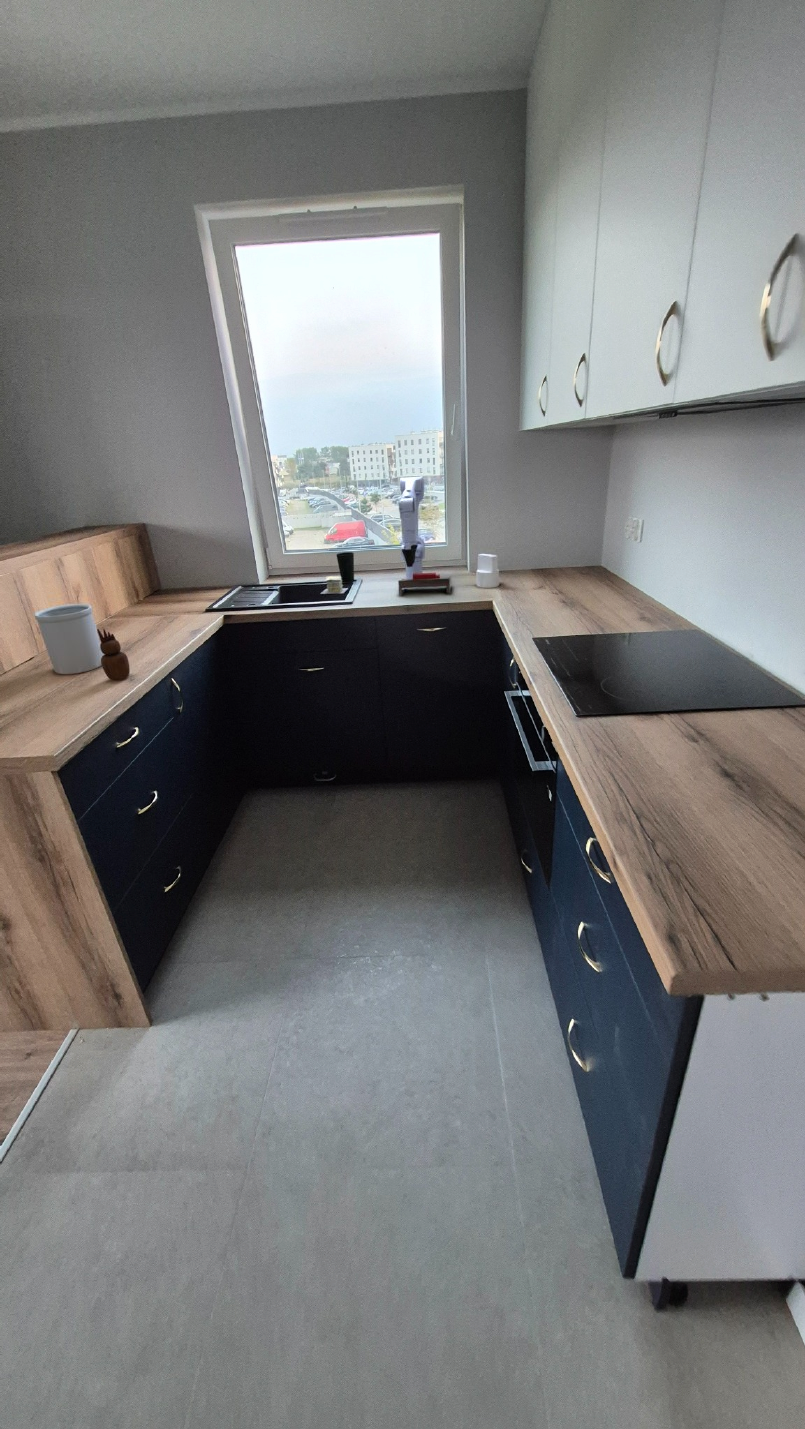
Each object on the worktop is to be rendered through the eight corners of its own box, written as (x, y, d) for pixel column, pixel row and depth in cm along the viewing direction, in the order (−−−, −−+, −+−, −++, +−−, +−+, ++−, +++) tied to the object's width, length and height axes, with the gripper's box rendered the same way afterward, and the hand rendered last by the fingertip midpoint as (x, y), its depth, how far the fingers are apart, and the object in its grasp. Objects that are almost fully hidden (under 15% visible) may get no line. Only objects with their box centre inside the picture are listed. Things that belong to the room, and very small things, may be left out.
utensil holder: (98, 654, 183) (81, 600, 176) (115, 664, 173) (98, 607, 166) (47, 668, 174) (27, 611, 167) (62, 679, 164) (42, 619, 157)
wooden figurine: (107, 684, 158) (91, 632, 152) (106, 678, 163) (90, 627, 156) (133, 679, 161) (118, 627, 154) (131, 673, 165) (117, 622, 159)
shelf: (402, 588, 238) (401, 574, 236) (450, 586, 236) (450, 572, 233) (399, 595, 227) (398, 580, 225) (449, 593, 225) (449, 578, 222)
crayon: (413, 581, 232) (413, 573, 230) (440, 579, 230) (439, 572, 229) (413, 582, 229) (412, 575, 228) (439, 581, 228) (439, 573, 226)
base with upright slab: (503, 584, 232) (503, 554, 227) (486, 588, 228) (486, 558, 223) (488, 581, 239) (488, 552, 234) (472, 585, 235) (471, 555, 230)
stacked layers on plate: (348, 588, 246) (347, 575, 243) (343, 593, 238) (341, 580, 235) (326, 588, 247) (324, 576, 245) (320, 594, 240) (318, 580, 237)
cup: (355, 582, 255) (352, 554, 250) (338, 583, 256) (335, 555, 251) (357, 578, 262) (354, 551, 257) (340, 579, 263) (337, 552, 258)
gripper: (400, 528, 236) (402, 562, 241) (396, 533, 222) (399, 568, 228) (417, 527, 235) (419, 561, 240) (414, 532, 222) (416, 568, 227)
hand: (410, 565), depth 234 cm, fingers open, 7 cm apart
